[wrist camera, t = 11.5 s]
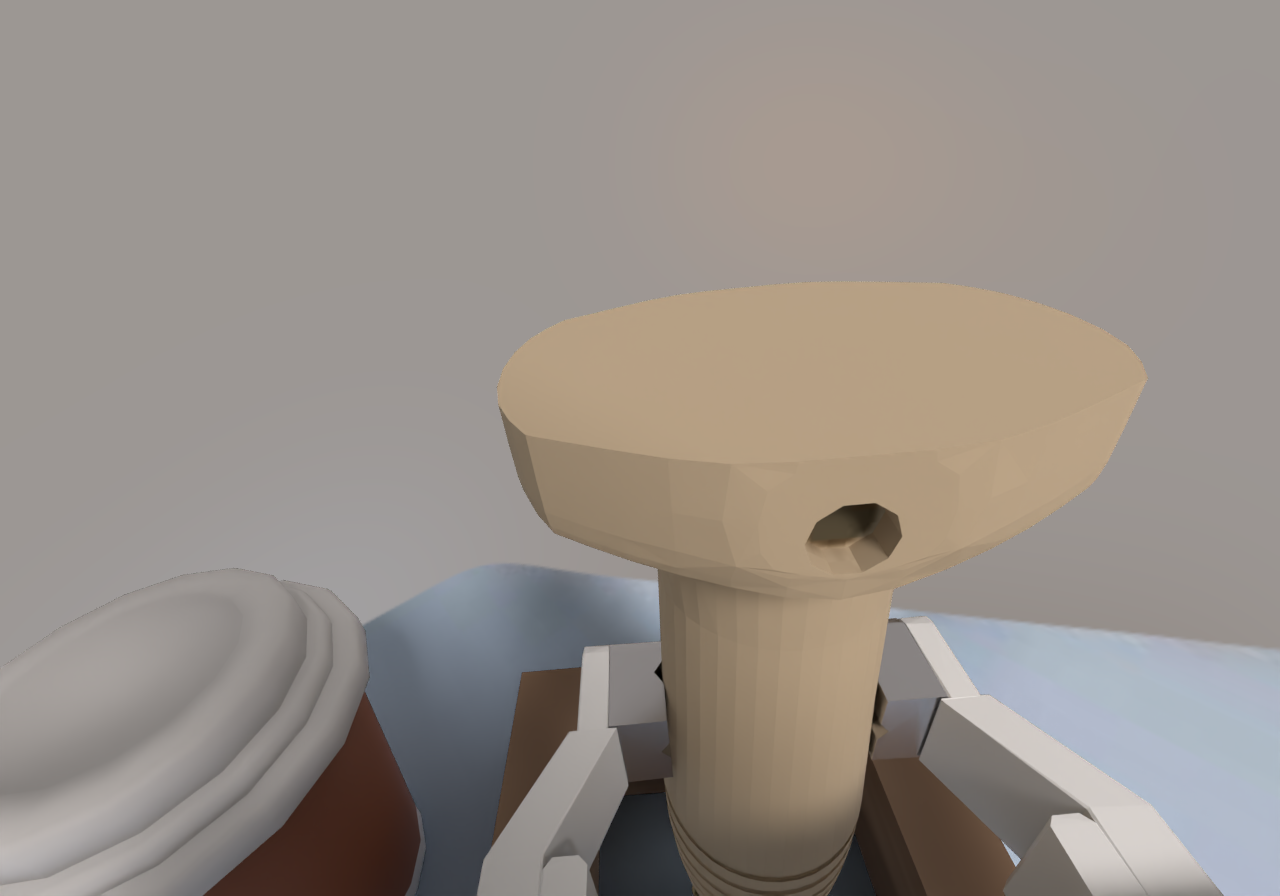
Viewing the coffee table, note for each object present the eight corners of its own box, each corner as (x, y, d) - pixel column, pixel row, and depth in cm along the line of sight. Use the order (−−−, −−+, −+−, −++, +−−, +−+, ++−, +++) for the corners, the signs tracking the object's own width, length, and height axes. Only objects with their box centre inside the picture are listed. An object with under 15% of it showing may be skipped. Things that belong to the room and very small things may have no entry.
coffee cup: (497, 754, 21) (401, 539, 15) (386, 1111, 14) (90, 980, 7) (297, 745, 22) (129, 539, 16) (90, 1070, 15) (-393, 923, 8)
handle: (631, 787, 16) (535, 308, 8) (840, 772, 16) (952, 266, 8) (633, 1016, 12) (436, 493, 4) (916, 1000, 11) (1322, 414, 4)
